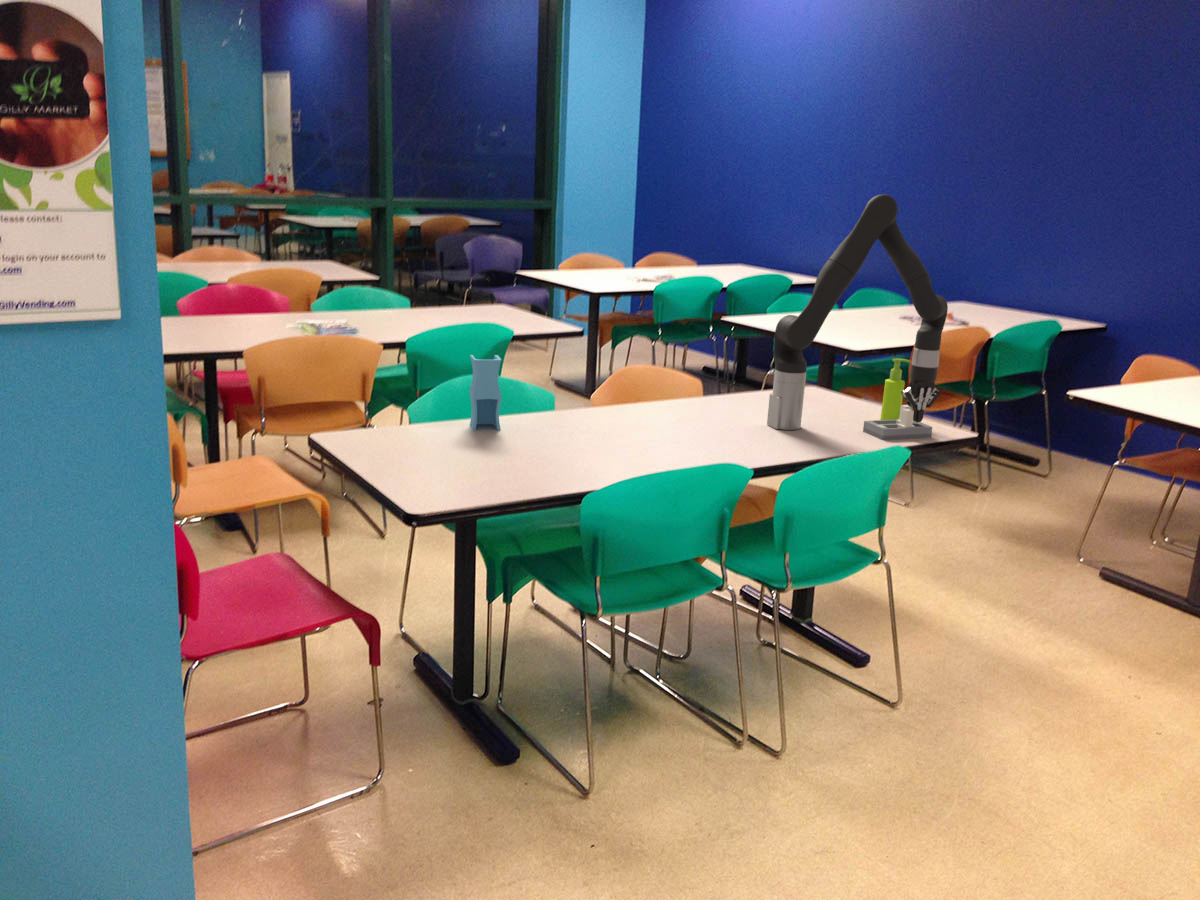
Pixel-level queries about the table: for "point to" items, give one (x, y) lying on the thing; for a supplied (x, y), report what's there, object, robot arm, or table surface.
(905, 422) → the tab
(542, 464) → the table surface
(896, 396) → the soap dispenser
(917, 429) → the switch bank
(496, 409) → the notched blue pillar
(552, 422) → the table surface
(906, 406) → the tab
